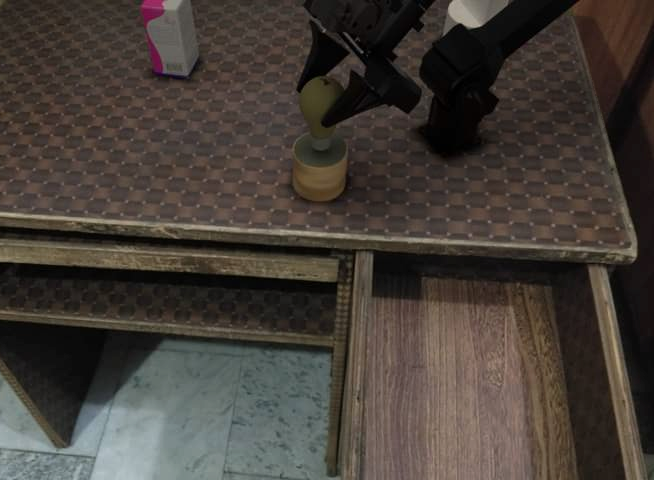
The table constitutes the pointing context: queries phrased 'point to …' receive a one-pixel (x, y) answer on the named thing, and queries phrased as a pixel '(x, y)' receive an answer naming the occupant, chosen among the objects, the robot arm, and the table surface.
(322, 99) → the light bulb
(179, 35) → the supplement box
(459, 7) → the drinking glass
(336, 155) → the tan cup
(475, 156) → the table surface
